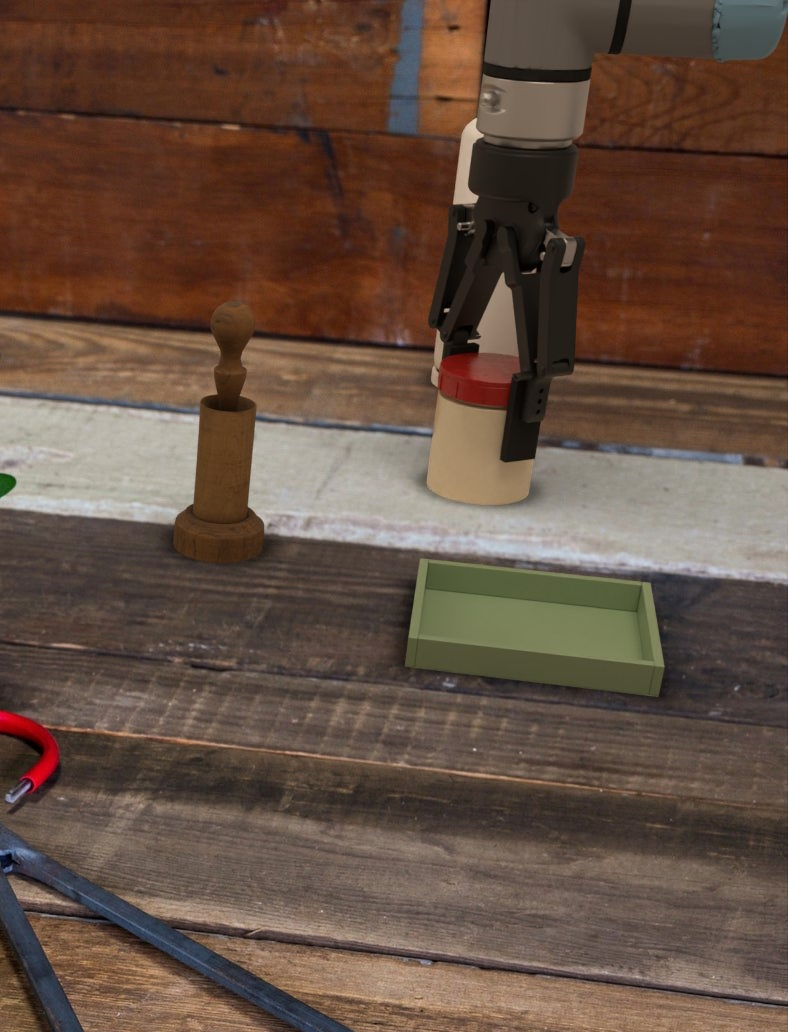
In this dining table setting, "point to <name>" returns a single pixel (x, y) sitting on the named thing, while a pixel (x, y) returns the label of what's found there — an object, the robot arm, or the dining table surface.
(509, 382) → the jam lid
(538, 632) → the tray
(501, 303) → the bottle
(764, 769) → the dining table surface
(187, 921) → the dining table surface
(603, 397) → the dining table surface
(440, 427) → the jam jar
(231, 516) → the mortar and pestle
